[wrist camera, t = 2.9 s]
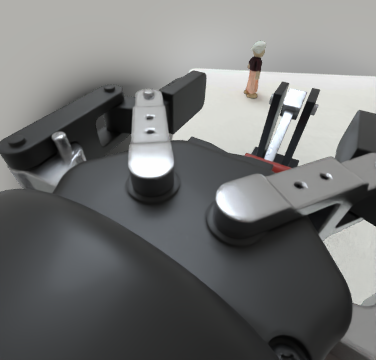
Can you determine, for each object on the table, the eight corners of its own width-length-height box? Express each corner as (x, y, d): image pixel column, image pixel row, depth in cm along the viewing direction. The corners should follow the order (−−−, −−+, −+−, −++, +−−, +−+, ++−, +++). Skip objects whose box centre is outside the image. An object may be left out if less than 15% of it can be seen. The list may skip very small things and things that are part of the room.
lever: (284, 183, 29) (288, 175, 27) (241, 167, 31) (242, 159, 28) (315, 107, 32) (320, 95, 30) (274, 97, 34) (277, 85, 32)
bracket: (284, 202, 36) (325, 116, 26) (235, 183, 39) (255, 98, 28) (296, 165, 42) (334, 84, 32) (254, 151, 45) (276, 72, 35)
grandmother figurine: (263, 99, 61) (277, 45, 52) (250, 100, 60) (262, 46, 52) (249, 87, 66) (260, 36, 58) (237, 88, 66) (246, 36, 57)
